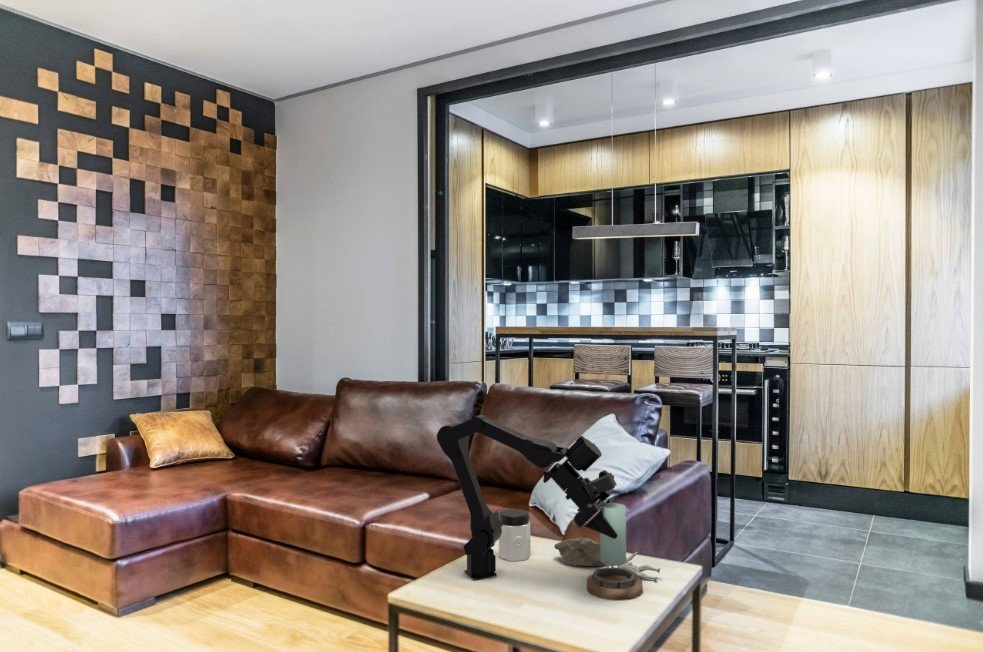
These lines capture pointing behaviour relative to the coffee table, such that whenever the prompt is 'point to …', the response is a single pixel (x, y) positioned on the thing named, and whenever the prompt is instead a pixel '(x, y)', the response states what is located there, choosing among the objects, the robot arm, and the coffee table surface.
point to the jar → (515, 535)
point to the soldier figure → (638, 568)
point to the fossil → (580, 551)
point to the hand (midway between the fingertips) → (618, 533)
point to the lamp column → (616, 548)
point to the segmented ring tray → (614, 584)
